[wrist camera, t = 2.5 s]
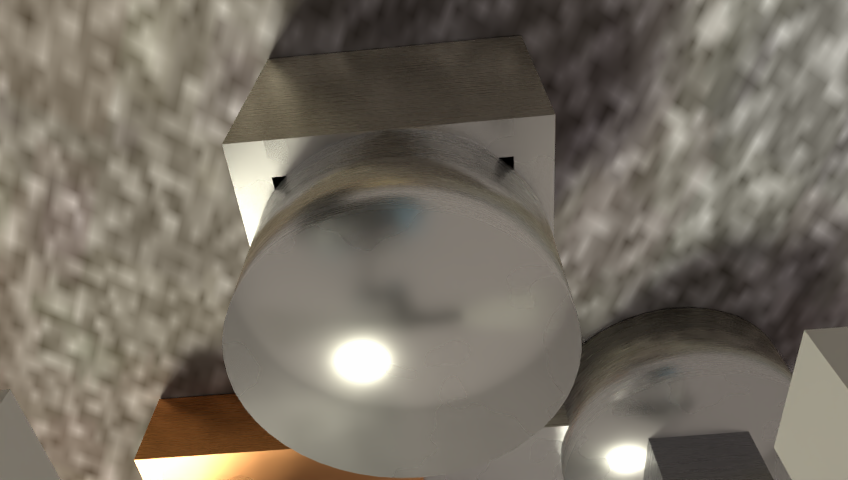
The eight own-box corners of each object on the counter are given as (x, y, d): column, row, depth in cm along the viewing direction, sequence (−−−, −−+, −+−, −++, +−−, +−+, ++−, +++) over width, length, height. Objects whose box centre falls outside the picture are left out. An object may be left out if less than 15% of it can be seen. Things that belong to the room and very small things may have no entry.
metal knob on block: (267, 59, 18) (177, 227, 11) (521, 35, 17) (589, 192, 11) (312, 265, 21) (265, 488, 14) (524, 248, 21) (576, 466, 14)
